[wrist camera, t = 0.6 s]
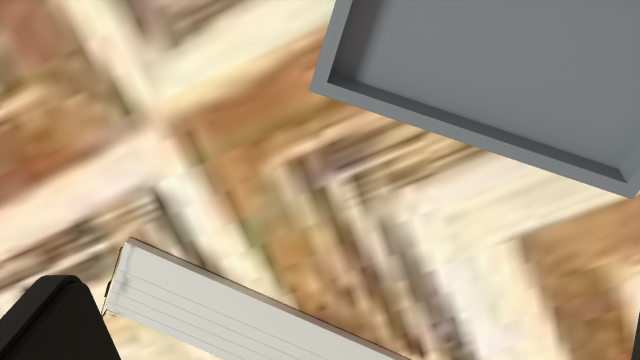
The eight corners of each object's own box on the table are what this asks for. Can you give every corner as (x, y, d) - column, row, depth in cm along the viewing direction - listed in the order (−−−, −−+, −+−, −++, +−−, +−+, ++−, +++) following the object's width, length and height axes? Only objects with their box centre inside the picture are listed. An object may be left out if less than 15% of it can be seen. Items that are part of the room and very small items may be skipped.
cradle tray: (315, 76, 40) (309, 90, 38) (378, -132, 33) (375, -131, 31) (620, 179, 41) (632, 199, 38) (749, -5, 33) (775, 6, 31)
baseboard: (367, 422, 61) (420, 358, 55) (365, 446, 58) (420, 382, 52) (107, 311, 58) (131, 232, 52) (93, 332, 56) (117, 250, 49)
